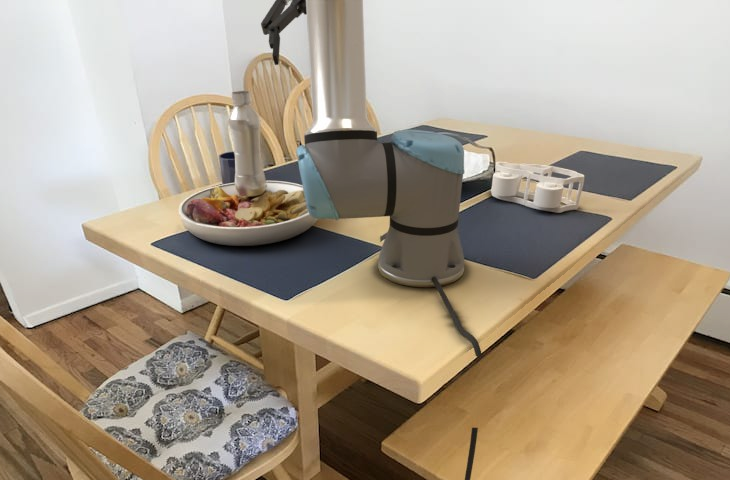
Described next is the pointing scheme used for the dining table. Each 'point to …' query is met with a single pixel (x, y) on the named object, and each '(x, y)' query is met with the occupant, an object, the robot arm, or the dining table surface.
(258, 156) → the silver metal bottle
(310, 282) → the dining table surface
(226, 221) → the bowl
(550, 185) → the car outline toy
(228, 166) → the navy cup
